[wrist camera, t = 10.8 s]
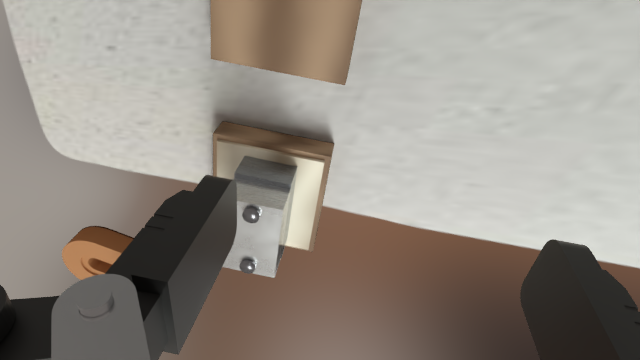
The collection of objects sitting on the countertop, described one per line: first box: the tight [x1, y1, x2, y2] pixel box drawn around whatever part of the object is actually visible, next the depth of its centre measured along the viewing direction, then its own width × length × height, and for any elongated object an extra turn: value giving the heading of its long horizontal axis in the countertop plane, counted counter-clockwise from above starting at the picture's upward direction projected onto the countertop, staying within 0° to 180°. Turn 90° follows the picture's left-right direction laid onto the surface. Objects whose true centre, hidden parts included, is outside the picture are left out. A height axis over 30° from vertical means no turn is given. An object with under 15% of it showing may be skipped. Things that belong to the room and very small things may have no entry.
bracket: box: [62, 226, 134, 280], centre depth 49 cm, size 18×8×7 cm, turn 68°
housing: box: [222, 156, 298, 278], centre depth 36 cm, size 5×9×6 cm, turn 171°
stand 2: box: [213, 121, 334, 251], centre depth 40 cm, size 11×12×3 cm
